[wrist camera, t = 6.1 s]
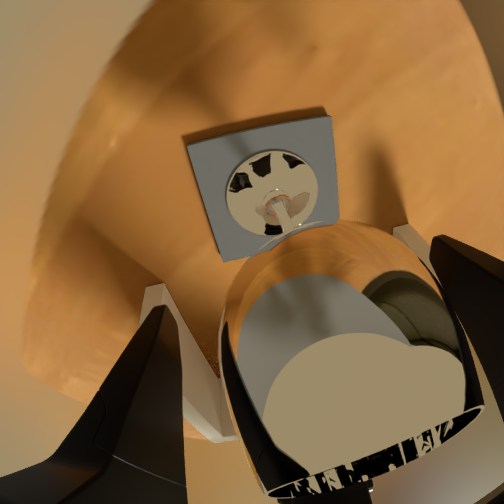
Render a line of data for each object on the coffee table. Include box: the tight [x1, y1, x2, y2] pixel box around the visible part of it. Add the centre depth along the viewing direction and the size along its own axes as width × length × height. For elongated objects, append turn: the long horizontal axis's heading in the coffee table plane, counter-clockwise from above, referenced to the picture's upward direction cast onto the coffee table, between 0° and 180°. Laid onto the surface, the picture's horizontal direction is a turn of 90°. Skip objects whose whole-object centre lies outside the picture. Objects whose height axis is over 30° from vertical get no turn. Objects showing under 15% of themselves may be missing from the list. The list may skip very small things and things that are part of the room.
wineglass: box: [218, 151, 485, 498], centre depth 9 cm, size 6×6×12 cm
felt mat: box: [187, 115, 339, 262], centre depth 14 cm, size 6×6×1 cm
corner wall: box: [138, 224, 441, 443], centre depth 18 cm, size 13×16×6 cm
